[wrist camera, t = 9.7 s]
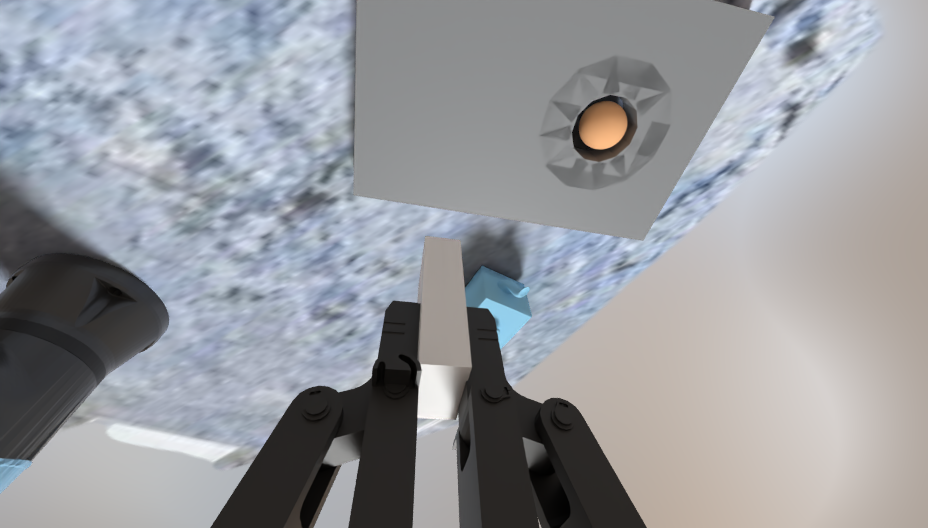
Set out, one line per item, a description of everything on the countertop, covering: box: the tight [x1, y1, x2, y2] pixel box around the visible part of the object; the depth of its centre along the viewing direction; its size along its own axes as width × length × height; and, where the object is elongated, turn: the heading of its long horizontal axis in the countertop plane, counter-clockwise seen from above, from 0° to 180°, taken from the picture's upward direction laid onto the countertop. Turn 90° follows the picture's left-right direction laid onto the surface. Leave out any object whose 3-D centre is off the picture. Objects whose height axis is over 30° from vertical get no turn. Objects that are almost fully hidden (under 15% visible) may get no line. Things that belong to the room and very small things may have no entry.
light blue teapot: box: [465, 266, 532, 349], centre depth 42 cm, size 12×6×8 cm, turn 150°
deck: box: [353, 0, 774, 241], centre depth 31 cm, size 30×20×3 cm, turn 79°
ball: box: [579, 101, 627, 149], centre depth 32 cm, size 4×4×4 cm
